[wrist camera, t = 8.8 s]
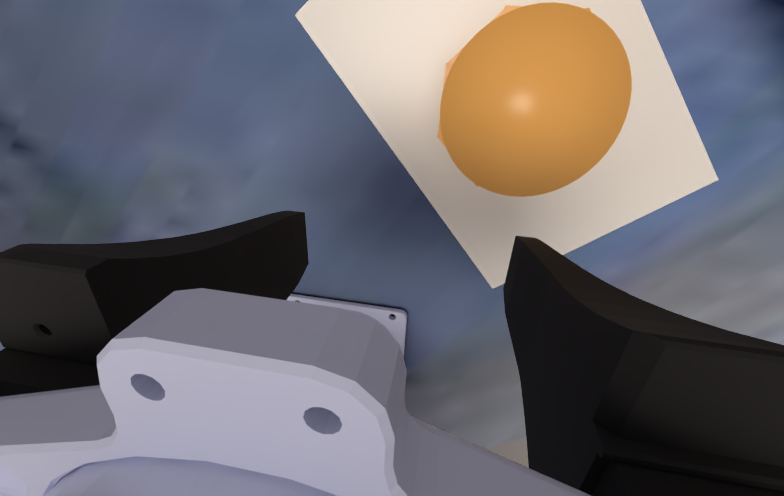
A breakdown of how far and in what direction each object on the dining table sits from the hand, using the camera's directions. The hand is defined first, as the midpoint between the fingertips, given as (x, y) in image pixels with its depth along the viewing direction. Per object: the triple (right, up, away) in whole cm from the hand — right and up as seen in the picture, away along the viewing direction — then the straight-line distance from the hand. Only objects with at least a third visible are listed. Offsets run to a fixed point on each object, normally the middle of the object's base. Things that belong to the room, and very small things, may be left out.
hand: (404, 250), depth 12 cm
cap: (+5, +7, +5) cm, 10 cm away
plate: (+5, +8, +6) cm, 11 cm away
